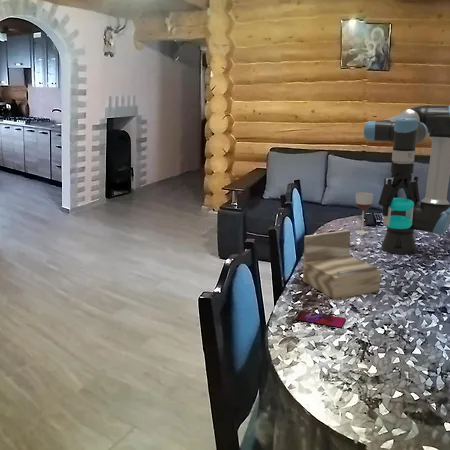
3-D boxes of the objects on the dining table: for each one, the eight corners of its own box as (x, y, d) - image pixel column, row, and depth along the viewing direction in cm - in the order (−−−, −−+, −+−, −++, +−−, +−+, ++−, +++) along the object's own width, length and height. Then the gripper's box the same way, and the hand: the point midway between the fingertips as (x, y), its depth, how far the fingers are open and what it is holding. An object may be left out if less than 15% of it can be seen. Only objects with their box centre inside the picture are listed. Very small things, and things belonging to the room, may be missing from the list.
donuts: (415, 203, 183) (385, 201, 185) (412, 230, 185) (383, 228, 188) (413, 197, 192) (385, 196, 195) (411, 224, 195) (383, 222, 197)
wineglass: (371, 234, 265) (374, 195, 260) (353, 233, 267) (356, 194, 262) (370, 230, 273) (372, 192, 268) (353, 229, 274) (355, 191, 269)
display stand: (302, 281, 200) (304, 235, 196) (345, 273, 209) (348, 230, 204) (334, 299, 183) (336, 250, 178) (379, 290, 191) (383, 243, 186)
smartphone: (342, 327, 160) (294, 319, 166) (341, 330, 161) (294, 321, 166) (346, 318, 167) (300, 310, 173) (346, 320, 167) (300, 312, 173)
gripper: (385, 165, 177) (380, 228, 183) (434, 161, 187) (428, 222, 192) (370, 162, 184) (366, 224, 190) (418, 159, 193) (413, 217, 199)
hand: (397, 223), depth 191 cm, fingers closed on donuts, 10 cm apart
